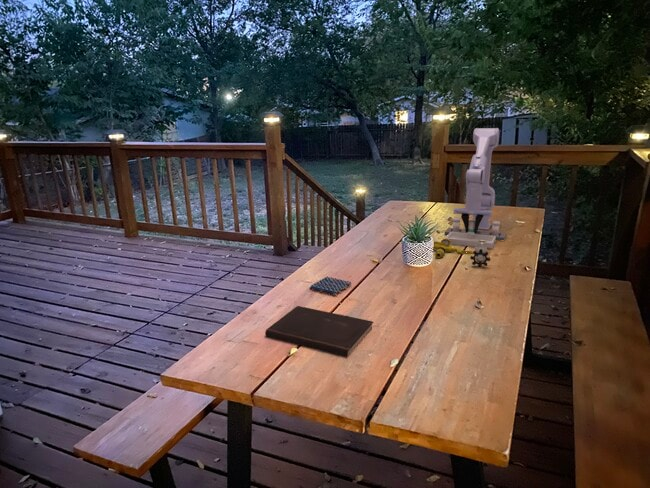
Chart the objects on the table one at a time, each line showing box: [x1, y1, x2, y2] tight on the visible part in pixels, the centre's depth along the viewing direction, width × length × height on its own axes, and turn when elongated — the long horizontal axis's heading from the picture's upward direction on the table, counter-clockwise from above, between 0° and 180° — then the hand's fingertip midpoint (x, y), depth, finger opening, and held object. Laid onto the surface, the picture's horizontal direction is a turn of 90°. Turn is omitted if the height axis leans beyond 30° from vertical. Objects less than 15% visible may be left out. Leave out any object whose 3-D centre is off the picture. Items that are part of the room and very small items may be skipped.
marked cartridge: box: [467, 219, 475, 239], centre depth 182 cm, size 3×3×7 cm
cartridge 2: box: [491, 220, 501, 236], centre depth 188 cm, size 3×3×7 cm
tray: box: [444, 232, 497, 250], centre depth 183 cm, size 10×18×2 cm, turn 63°
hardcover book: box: [264, 305, 374, 358], centre depth 116 cm, size 16×23×2 cm
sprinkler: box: [433, 238, 474, 259], centre depth 172 cm, size 19×4×15 cm
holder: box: [444, 227, 507, 241], centre depth 192 cm, size 7×24×2 cm, turn 63°
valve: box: [469, 240, 491, 268], centre depth 161 cm, size 7×7×12 cm
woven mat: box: [309, 276, 352, 297], centre depth 144 cm, size 10×11×2 cm
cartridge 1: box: [452, 217, 461, 232], centre depth 195 cm, size 3×3×7 cm
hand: (471, 232), depth 182 cm, fingers closed on marked cartridge, 3 cm apart
